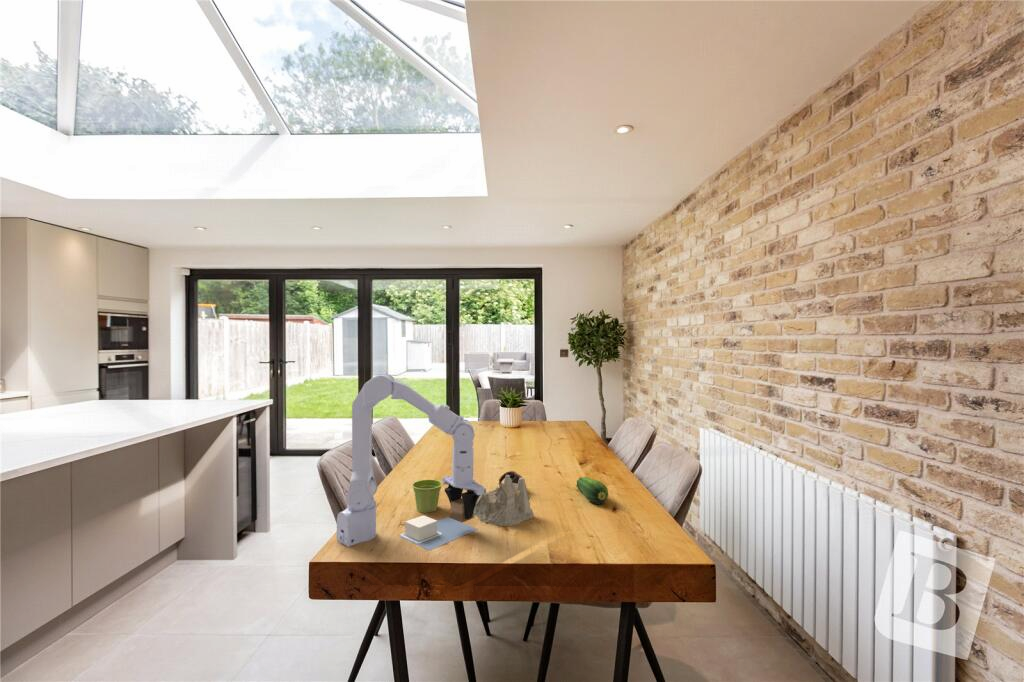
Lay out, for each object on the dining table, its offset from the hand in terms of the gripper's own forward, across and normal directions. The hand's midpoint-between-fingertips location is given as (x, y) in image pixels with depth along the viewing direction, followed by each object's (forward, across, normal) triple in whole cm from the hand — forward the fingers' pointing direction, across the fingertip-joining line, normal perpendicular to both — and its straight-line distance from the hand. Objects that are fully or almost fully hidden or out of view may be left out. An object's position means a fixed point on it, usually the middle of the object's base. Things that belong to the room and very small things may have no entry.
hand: (462, 515), depth 119 cm
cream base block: (+4, +6, +9) cm, 12 cm away
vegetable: (+5, -10, -50) cm, 51 cm away
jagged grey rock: (+5, -1, -16) cm, 17 cm away
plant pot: (+5, +20, -4) cm, 21 cm away
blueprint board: (+5, +4, +5) cm, 8 cm away
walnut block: (+1, 0, 0) cm, 1 cm away
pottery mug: (+5, +13, -37) cm, 39 cm away
